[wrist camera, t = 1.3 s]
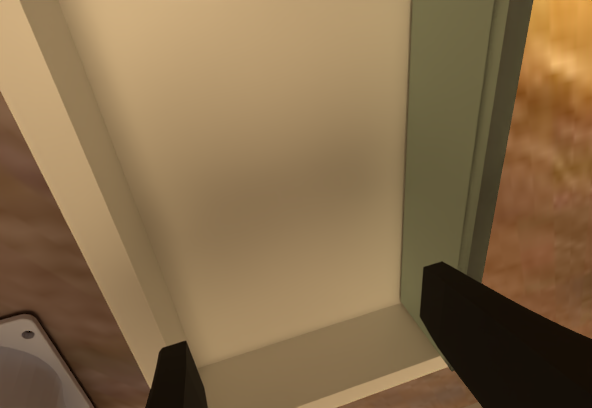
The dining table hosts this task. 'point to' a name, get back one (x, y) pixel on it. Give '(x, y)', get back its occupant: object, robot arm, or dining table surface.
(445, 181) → the panel
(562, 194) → the dining table surface
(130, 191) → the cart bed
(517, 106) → the dining table surface
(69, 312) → the dining table surface
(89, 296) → the dining table surface
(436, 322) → the robot arm
